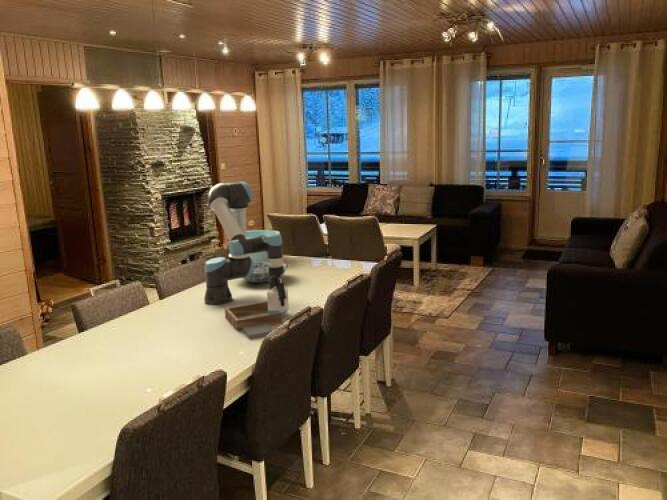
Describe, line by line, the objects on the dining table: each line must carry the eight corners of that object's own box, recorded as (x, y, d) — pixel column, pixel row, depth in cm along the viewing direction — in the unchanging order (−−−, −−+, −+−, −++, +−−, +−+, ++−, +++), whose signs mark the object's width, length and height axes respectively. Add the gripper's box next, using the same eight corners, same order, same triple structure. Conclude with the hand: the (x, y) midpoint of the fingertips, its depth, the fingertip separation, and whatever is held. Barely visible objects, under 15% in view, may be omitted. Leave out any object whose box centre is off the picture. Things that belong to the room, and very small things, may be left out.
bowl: (238, 260, 415) (235, 231, 411) (285, 258, 414) (283, 229, 409) (227, 271, 381) (225, 239, 376) (279, 269, 379) (277, 237, 375)
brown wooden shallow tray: (225, 317, 281) (224, 308, 280) (267, 310, 290) (267, 301, 289) (237, 331, 261) (236, 320, 260) (282, 323, 269) (281, 313, 268)
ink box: (284, 316, 275) (282, 289, 272) (267, 315, 277) (266, 289, 274) (289, 310, 283) (287, 284, 281) (273, 310, 285) (271, 284, 282)
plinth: (242, 331, 260) (241, 327, 260) (267, 326, 265) (266, 322, 264) (249, 339, 249) (249, 335, 249) (275, 334, 254) (275, 330, 254)
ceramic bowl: (301, 277, 356) (300, 262, 354) (266, 291, 327) (265, 274, 325) (259, 272, 374) (258, 257, 372) (222, 285, 346) (221, 269, 344)
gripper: (261, 262, 285) (264, 304, 289) (275, 271, 263) (278, 316, 268) (275, 260, 288) (278, 301, 292) (291, 269, 266) (293, 313, 271)
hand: (278, 308), depth 280 cm, fingers closed on ink box, 11 cm apart
